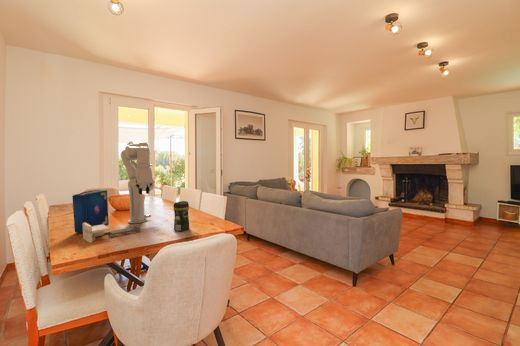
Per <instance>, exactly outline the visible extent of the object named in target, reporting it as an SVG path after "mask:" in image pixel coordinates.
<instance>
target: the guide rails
mask: <svg viewBox="0 0 520 346" xmlns="http://www.w3.org/2000/svg"><path fill="white" fill-rule="evenodd" d="M141 231H142V230H141V229H140V230H136V231H131V232H126V233H121V234H116V235H111V236H110V235H109V231H107V232H106V231H104V235H103V236H106V235H109V236H108V237H109V239H113V238H118V237H122V236H128V235H132V234H136V233H141Z"/></svg>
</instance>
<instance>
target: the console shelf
mask: <svg viewBox="0 0 520 346" xmlns="http://www.w3.org/2000/svg"><path fill="white" fill-rule="evenodd" d="M106 231H107V232H108V231H111V227H109V226H108V225H107V226H105V225H103V224H102V225H96V226H91V225H89V224H87V223H83V233H82V238H83V239H84V241H86V242H87V243H88V244H89V243H93V242H95V241H96V237H101V236H105V235H104V233H105V232H106Z"/></svg>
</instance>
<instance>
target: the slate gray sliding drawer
mask: <svg viewBox="0 0 520 346" xmlns="http://www.w3.org/2000/svg"><path fill="white" fill-rule="evenodd" d="M136 230H141V226H139V225H137V224H135V225H133V226H131V227H125V228H121V229H115V230H108V232H109V234H108V235H109V236H111V235H116V234H121V233H126V232H131V231H136Z"/></svg>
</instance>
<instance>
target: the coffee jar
mask: <svg viewBox="0 0 520 346" xmlns="http://www.w3.org/2000/svg"><path fill="white" fill-rule="evenodd" d="M189 208H190V205H189V202H188V201H186V200H181V201H177V202H174V203H173V211H174V220H173V222H174V223H173V224H174V225H173V230H174V231H175V232H184V231H187V230H189V229H190V219H189V217H190V215H189Z"/></svg>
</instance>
